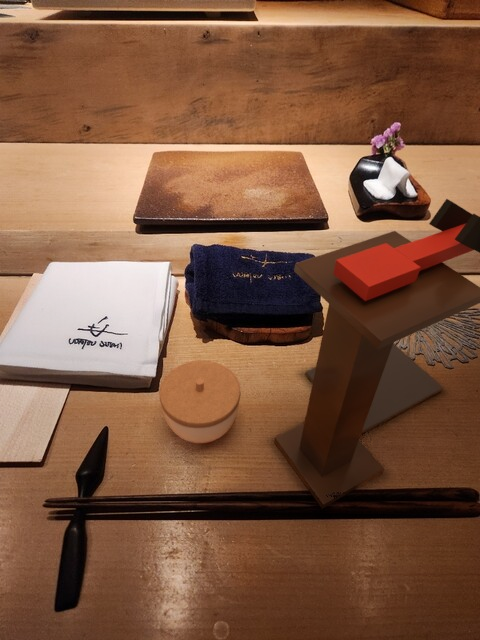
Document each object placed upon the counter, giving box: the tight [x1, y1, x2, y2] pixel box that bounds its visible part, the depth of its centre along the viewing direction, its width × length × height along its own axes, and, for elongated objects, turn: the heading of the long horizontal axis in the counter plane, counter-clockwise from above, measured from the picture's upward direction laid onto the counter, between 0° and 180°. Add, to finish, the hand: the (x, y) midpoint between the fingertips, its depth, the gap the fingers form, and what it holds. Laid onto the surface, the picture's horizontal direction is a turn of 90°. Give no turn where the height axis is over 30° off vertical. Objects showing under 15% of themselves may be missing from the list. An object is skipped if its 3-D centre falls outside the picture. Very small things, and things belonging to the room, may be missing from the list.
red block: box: [333, 223, 474, 301], centre depth 44 cm, size 4×20×2 cm, turn 120°
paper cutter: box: [304, 343, 444, 435], centre depth 72 cm, size 13×17×1 cm
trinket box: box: [158, 359, 241, 444], centre depth 63 cm, size 11×11×9 cm
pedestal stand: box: [273, 230, 480, 510], centre depth 53 cm, size 12×13×30 cm
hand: (453, 220), depth 43 cm, fingers closed on red block, 2 cm apart
